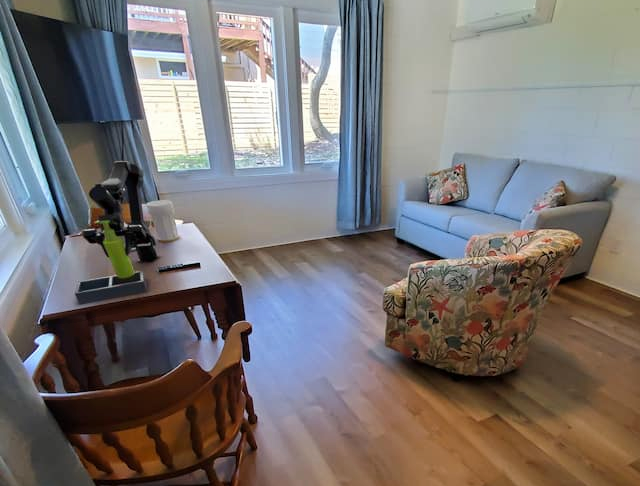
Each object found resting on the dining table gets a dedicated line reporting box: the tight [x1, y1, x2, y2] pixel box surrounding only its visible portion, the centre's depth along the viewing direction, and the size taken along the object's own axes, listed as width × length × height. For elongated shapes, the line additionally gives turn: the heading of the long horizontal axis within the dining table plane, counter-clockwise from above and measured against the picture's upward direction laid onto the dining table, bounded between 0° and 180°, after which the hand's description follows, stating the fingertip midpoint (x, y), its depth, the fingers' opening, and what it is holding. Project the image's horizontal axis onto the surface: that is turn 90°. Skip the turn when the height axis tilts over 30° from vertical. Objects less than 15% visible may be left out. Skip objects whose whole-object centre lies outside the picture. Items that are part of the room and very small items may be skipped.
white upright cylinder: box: [145, 199, 180, 243], centre depth 192 cm, size 11×11×17 cm
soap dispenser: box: [93, 220, 136, 278], centre depth 139 cm, size 6×7×20 cm
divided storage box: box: [74, 270, 148, 305], centre depth 145 cm, size 11×22×4 cm, turn 116°
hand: (117, 256), depth 140 cm, fingers closed on soap dispenser, 6 cm apart
